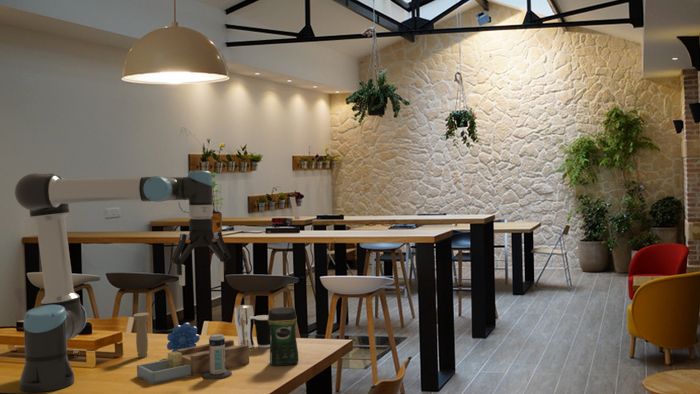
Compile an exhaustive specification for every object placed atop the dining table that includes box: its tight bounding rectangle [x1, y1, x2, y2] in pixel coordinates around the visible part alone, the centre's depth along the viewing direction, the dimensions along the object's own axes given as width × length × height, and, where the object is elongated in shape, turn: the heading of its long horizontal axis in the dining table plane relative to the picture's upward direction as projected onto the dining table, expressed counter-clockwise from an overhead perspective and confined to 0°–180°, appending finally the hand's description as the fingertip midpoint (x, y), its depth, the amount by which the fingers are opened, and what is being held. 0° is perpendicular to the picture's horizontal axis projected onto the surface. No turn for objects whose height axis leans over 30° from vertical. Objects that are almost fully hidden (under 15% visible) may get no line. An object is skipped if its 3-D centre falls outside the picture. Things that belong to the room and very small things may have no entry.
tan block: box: [167, 351, 182, 365], centre depth 211 cm, size 3×4×3 cm
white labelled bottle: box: [208, 333, 227, 375], centre depth 208 cm, size 5×5×12 cm
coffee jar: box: [268, 306, 299, 367], centre depth 221 cm, size 10×8×19 cm
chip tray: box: [136, 358, 192, 385], centre depth 209 cm, size 12×12×4 cm
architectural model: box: [67, 348, 80, 354], centre depth 238 cm, size 3×7×7 cm, turn 24°
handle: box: [133, 312, 150, 359], centre depth 234 cm, size 5×6×15 cm
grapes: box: [166, 322, 201, 352], centre depth 234 cm, size 12×7×12 cm, turn 89°
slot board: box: [177, 339, 250, 376], centre depth 220 cm, size 20×12×6 cm, turn 129°
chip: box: [167, 363, 182, 369], centre depth 211 cm, size 3×4×3 cm
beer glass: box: [234, 304, 255, 350], centre depth 244 cm, size 7×7×15 cm
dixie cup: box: [254, 314, 270, 349], centre depth 245 cm, size 8×8×11 cm
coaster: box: [202, 369, 233, 380], centre depth 208 cm, size 9×9×1 cm
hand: (201, 283), depth 217 cm, fingers open, 13 cm apart
